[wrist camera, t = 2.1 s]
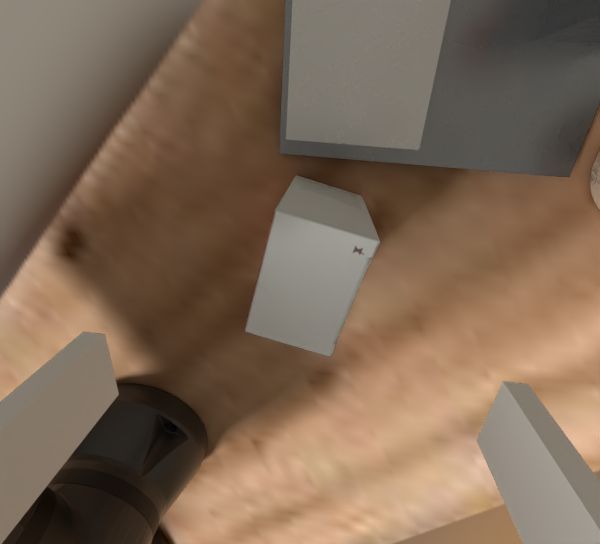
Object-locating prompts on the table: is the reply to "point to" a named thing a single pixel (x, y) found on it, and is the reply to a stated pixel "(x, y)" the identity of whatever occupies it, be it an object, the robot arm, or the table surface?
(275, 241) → the small box
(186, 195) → the table surface
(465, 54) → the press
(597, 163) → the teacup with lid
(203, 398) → the table surface
